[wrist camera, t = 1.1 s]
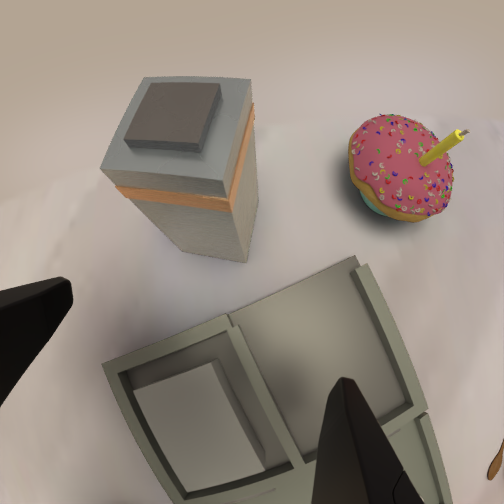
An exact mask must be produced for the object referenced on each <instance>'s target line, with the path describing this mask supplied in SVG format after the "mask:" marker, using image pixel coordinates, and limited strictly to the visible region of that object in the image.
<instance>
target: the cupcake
mask: <svg viewBox="0 0 504 504" xmlns="http://www.w3.org/2000/svg"><path fill="white" fill-rule="evenodd" d="M380 115H381V114H380ZM467 133H470V130H469V129H466V130H464V131H463V132H461V131H460V130H455V131H454V132H453V133H451V134H450V135H449V136H448V137H446V138H445V139H444V140H442V141H441V142H439V141H438V138H436V136H434V133H433V132H432V131H431V132H430V131H429V130H428V129H427V128H425V127H424V126H423V125H422V124H421V123H418V122H417V121H416V120H414V121H413V120H411V119H409V118H406V117H402V116H401V115H396V116H395V115H394V114H390V115H381V116H378V117H374V118H372V119H369V120H367V121H366V122H364V123H363V124H362V125H361V127H359V128H358V129H357V130H356V131H355V132H354V133H353V134H352V136H351V138H350V141H349V149H348V155H349V168H350V176H351V180H352V182H353V184H354V185H355V186H356V187H357V188H358V189H359V190H360V194H361V196H362V198H363V200H364V202H365V203H366V204H367V206H368V207H369V208H370V209H372V210H373V211H374V212H376V213H378V214H380V215H383V216H389V217H391V218H393V219H396V220H401V221H408V222H419V221H422V220H424V219H427V218H429V217H431V216H433V215H434V214H439V213H441V212H442V211H444V210H445V207H447V204H448V202H449V201H450V200H451V198H450V196H451V191H452V182H453V181H454V177H452V176H453V171H454V170H453V169H452V167H451V166H452V164H451V163H450V157H449V156H448V153H446V152H447V151H448V150H449V149H451V148H452V147H454V146H455V145H456V144H458V143H459V142H461V141H462V140H463V139H464V135H465V134H467ZM452 170H453V171H452ZM452 178H453V179H452Z"/></svg>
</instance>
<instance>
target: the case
mask: <svg viewBox="0 0 504 504" xmlns="http://www.w3.org/2000/svg"><path fill="white" fill-rule="evenodd" d="M102 367H103V369H104V372H105V374H106V377H107V379H108V382H109V384H110V387H111V389H112V391H113V394H114V396H115V398H116V401H117V403H118V405H119V407H120V409H121V412H122V414H123V416H124V418H125V420H126V422H127V424H128V426H129V428H130V430H131V432H132V434H133V436H134V438H135V440H136V442H137V444H138V446H139V448H140V449H141V451H142V453H143V455H144V457H145V459H146V460H147V462H148V464H149V466H150V467H151V469H152V471H153V472H154V474H155V476H156V477H157V479H158V481H159V482H160V484H161V485H162V487H163V489H164V490H165V492H166V493H167V495H168V496H169V498H170V499H171V501H172V502H173V504H311V500H312V493H313V485H314V477H315V468H316V459H317V449H318V442H319V437H320V432H321V428H322V423H323V418H324V413H325V408H326V403H327V398H328V395H329V393H330V392H331V390H332V388H333V387H334V385H335V384H336V382H337V381H338V379H339V378H340V377H347V378H351V379H354V380H355V382H356V383H357V385H358V387H359V389H360V390H361V392H362V394H363V396H364V397H365V399H366V401H367V403H368V404H369V406H370V408H371V410H372V411H373V413H374V415H375V417H376V419H377V420H378V422H379V424H380V426H381V427H382V429H383V431H384V433H385V435H386V436H387V438H388V440H389V442H390V444H391V445H392V447H393V449H394V451H395V453H396V454H397V456H398V458H399V460H400V462H401V464H402V465H403V467H404V470H405V471H406V473H407V474H408V476H409V478H410V480H411V482H412V483H413V485H414V487H415V489H416V490H417V492H418V494H419V495H420V497H421V498H422V500H423V501H424V503H425V504H453V502H452V497H451V493H450V489H449V484H448V480H447V476H446V472H445V468H444V465H443V461H442V457H441V454H440V450H439V447H438V443H437V440H436V437H435V434H434V430H433V427H432V424H431V421H430V418H429V415H428V413H426V412H424V411H426V410H427V409H428V406H427V403H426V400H425V397H424V394H423V391H422V389H421V386H420V383H419V380H418V378H417V375H416V372H415V370H414V367H413V365H412V362H411V360H410V357H409V354H408V352H407V350H406V347H405V345H404V342H403V340H402V337H401V335H400V333H399V330H398V328H397V326H396V323H395V321H394V319H393V317H392V314H391V312H390V310H389V308H388V306H387V303H386V301H385V299H384V297H383V295H382V293H381V290H380V288H379V286H378V284H377V282H376V280H375V278H374V276H373V274H372V272H371V270H370V268H369V266H368V264H365V265H363V266H360V264H359V262H358V260H357V258H356V256H355V255H354V256H352V257H350V258H348V259H346V260H344V261H342V262H340V263H338V264H336V265H334V266H332V267H330V268H328V269H326V270H324V271H322V272H320V273H318V274H316V275H313V276H311V277H309V278H307V279H305V280H303V281H301V282H299V283H297V284H294V285H292V286H290V287H288V288H286V289H284V290H282V291H279V292H277V293H275V294H273V295H271V296H269V297H266V298H264V299H262V300H260V301H258V302H255V303H253V304H251V305H249V306H246V307H244V308H242V309H240V310H237V311H235V312H233V313H231V314H224V315H221V316H219V317H217V318H214V319H212V320H210V321H207V322H205V323H203V324H200V325H198V326H196V327H193V328H191V329H188V330H186V331H184V332H181V333H179V334H176V335H174V336H171V337H169V338H167V339H164V340H162V341H159V342H157V343H154V344H152V345H149V346H147V347H144V348H142V349H139V350H136V351H134V352H131V353H129V354H126V355H124V356H121V357H118V358H116V359H113V360H110V361H108V362H105V363H102Z"/></svg>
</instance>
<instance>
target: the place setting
mask: <svg viewBox="0 0 504 504" xmlns="http://www.w3.org/2000/svg"><path fill="white" fill-rule="evenodd" d="M503 449H504V440H503V443H502V446H501V449H500V451H499V453H498V454H497V455H496V457H495V458H494V460H493V462H492V463H491V466H490V468H489V472H488V480H492V479H493V478H494V477H495V475H496V474H497V472H498V471H499V469H500V467H501V463H502V454H503Z"/></svg>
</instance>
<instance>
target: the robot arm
mask: <svg viewBox="0 0 504 504" xmlns="http://www.w3.org/2000/svg"><path fill="white" fill-rule="evenodd" d="M72 304H73V294H72V286H71V282H70V281H69V280H68V279H66V278H64V277H56V278H51V279H47V280H43V281H39V282H35V283H30V284H26V285H22V286H18V287H14V288H10V289H6V290H2V291H0V407H1V405H2V404H3V402H4V401H5V399H6V398H7V396H8V395H9V393H10V392H11V391H12V389H13V388H14V386H15V385H16V383H17V382H18V381H19V379H20V378H21V376H22V375H23V374H24V372H25V371H26V370H27V368H28V367H29V366H30V364H31V363H32V362H33V360H34V359H35V358H36V356H37V355H38V354H39V352H40V351H41V350H42V349H43V347H44V346H45V345H46V343H47V342H48V341H49V339H50V338H51V337H52V335H53V334H54V332H55V331H56V329H57V328H58V326H59V325H60V323H61V322H62V320H63V319H64V317H65V316H66V314H67V313H68V311H69V310H70V308H71V307H72ZM311 504H425V503H424V501H423V500H422V498H421V497H420V495H419V494H418V492H417V490H416V489H415V487H414V485H413V483H412V482H411V480H410V478H409V476H408V474H407V473H406V471H405V470H404V467H403V465H402V464H401V462H400V460H399V458H398V456H397V454H396V453H395V451H394V449H393V447H392V445H391V444H390V442H389V440H388V438H387V436H386V435H385V433H384V431H383V429H382V427H381V426H380V424H379V422H378V420H377V419H376V417H375V415H374V413H373V411H372V410H371V408H370V406H369V404H368V403H367V401H366V399H365V397H364V396H363V394H362V392H361V390H360V389H359V387H358V385H357V383H356V382H355V380H354V379H351V378H347V377H340V378H339V379H338V381H337V382H336V384H335V385H334V387H333V388H332V390H331V392H330V393H329V395H328V398H327V403H326V408H325V413H324V418H323V423H322V428H321V432H320V437H319V442H318V449H317V459H316V468H315V477H314V485H313V493H312V500H311Z"/></svg>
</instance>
